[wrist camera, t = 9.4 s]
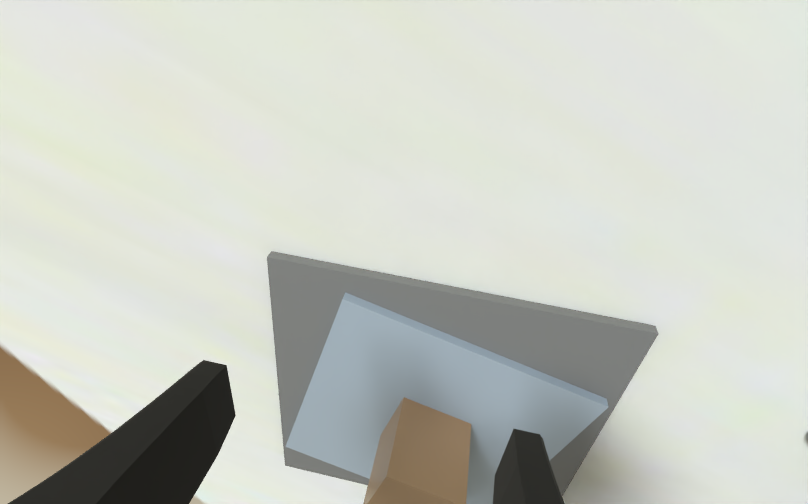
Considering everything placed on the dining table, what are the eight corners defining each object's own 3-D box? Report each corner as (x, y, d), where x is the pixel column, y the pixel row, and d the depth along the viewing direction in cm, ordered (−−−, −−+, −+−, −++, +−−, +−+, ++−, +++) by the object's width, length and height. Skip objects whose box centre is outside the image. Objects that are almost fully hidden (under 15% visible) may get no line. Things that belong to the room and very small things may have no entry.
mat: (655, 325, 20) (658, 333, 20) (542, 519, 30) (543, 527, 30) (271, 251, 22) (266, 257, 21) (287, 458, 32) (285, 465, 31)
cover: (606, 398, 22) (630, 498, 18) (482, 514, 30) (479, 602, 26) (345, 292, 22) (308, 371, 17) (288, 439, 30) (254, 517, 25)
